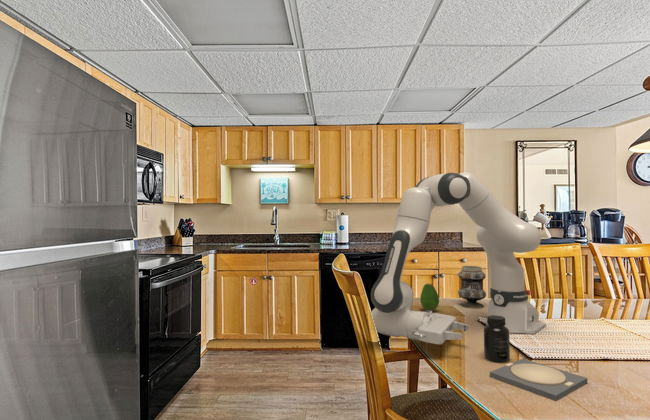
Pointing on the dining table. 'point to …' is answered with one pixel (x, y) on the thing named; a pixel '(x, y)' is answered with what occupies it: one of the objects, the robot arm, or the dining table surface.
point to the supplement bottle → (496, 340)
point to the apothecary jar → (472, 286)
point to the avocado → (429, 297)
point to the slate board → (539, 378)
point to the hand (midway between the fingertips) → (465, 332)
